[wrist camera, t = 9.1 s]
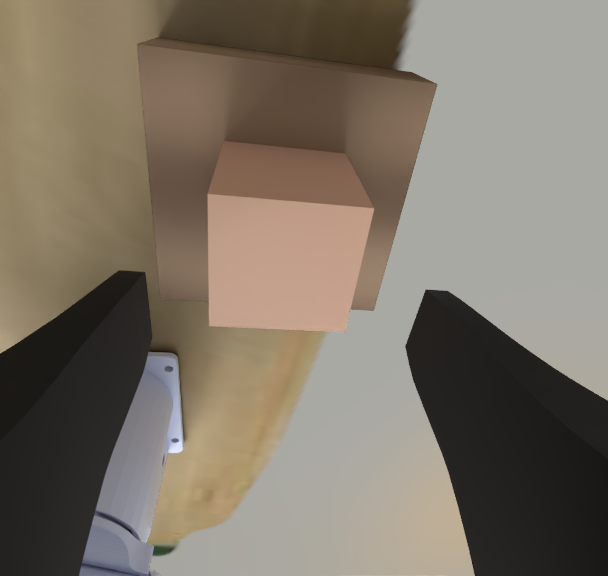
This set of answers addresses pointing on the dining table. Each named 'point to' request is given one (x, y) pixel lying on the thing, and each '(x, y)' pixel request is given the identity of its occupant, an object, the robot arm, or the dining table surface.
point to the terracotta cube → (284, 238)
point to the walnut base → (270, 141)
